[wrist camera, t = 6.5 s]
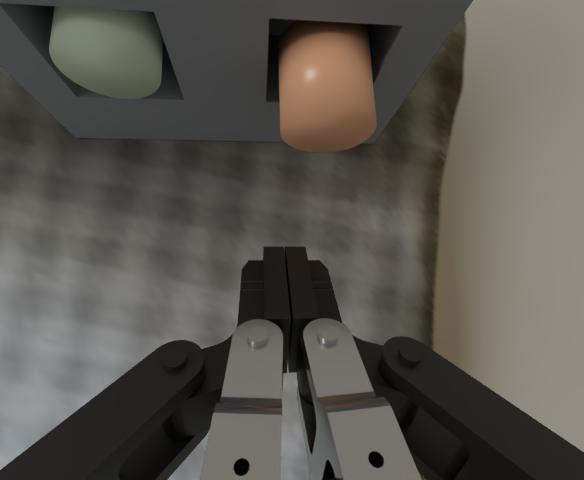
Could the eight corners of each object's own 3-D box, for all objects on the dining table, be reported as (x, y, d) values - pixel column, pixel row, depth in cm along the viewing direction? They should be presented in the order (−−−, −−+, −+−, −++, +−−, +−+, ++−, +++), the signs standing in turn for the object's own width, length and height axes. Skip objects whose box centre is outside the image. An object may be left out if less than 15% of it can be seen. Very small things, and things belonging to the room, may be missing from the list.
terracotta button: (360, 153, 16) (392, 103, 13) (277, 152, 16) (283, 100, 12) (354, 80, 17) (382, 13, 13) (275, 77, 17) (281, 7, 13)
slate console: (374, 143, 22) (488, -22, 11) (75, 137, 20) (-139, -68, 9) (364, 36, 23) (455, -198, 13) (88, 22, 21) (-81, -267, 11)
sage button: (171, 100, 16) (143, 31, 12) (81, 97, 16) (23, 26, 12) (174, 28, 17) (149, -57, 13) (89, 24, 16) (37, -66, 13)
